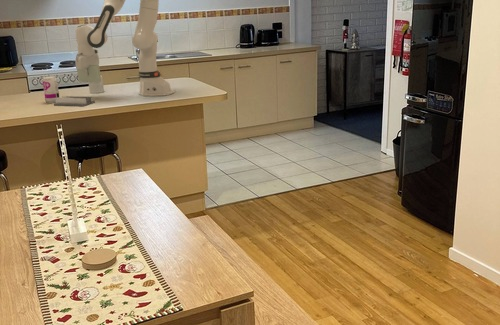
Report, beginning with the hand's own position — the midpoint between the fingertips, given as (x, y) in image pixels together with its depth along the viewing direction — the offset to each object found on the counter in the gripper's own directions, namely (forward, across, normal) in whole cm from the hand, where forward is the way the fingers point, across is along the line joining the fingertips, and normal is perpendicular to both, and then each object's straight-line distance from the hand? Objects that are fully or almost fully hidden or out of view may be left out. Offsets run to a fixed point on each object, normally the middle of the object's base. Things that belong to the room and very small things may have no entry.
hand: (89, 74), depth 330 cm
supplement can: (+14, -14, +18) cm, 27 cm away
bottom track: (+14, -18, 0) cm, 23 cm away
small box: (+15, +19, +8) cm, 25 cm away
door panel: (+4, 0, 0) cm, 4 cm away
